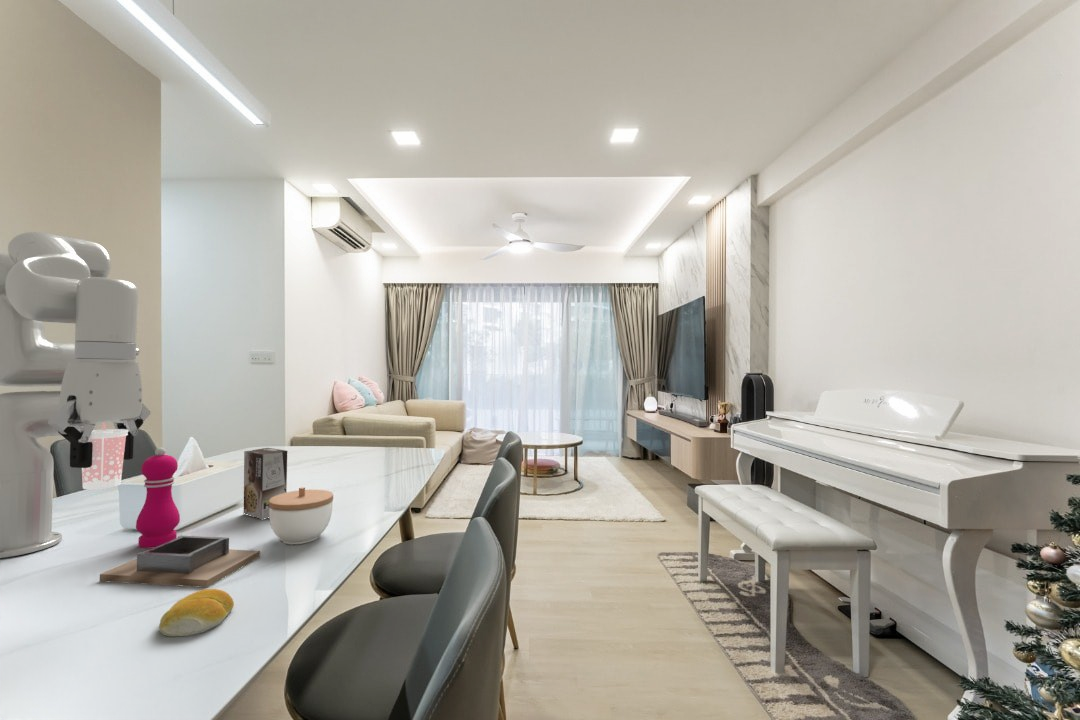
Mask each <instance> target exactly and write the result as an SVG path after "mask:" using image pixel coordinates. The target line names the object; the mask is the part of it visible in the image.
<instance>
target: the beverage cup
mask: <svg viewBox="0 0 1080 720" xmlns="http://www.w3.org/2000/svg"><path fill="white" fill-rule="evenodd" d="M126 435H128V430H127V429H115V428H107V423H101V428H100V429H93V431H92V433H91V435H90V438H89V440H88V442H92V444H93V450H92V466H91V467H89V468H81V476H82V477H81V479H82V480H81V481H82V483H81V484H82V489H83V490H92V491H93V490H102V489H109V488H115V487H118V486H120V485H122V475H123V466H124V450H125V441H126Z"/></svg>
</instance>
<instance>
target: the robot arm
mask: <svg viewBox="0 0 1080 720" xmlns="http://www.w3.org/2000/svg"><path fill="white" fill-rule="evenodd" d="M111 268H112V261H111V256H110V254H109V253H108V250H107V249H105V248H104V247H103V246H102V245H101V244H100V243H97V242H94V241H90V240H86V239H81V238H74V237H71V236H70V237H69V236H65V235H64V236H63V235H58V234H53V233H47V232H42V231H41V232H40V231H39V232H37V231H31V232H30V231H28V232H23V233H20V234H17V235H16V236H14V237H13V238H12V239H11V240H10V241H9V242H8V245H7V253H5V252H0V386H2V387H11V388H12V387H17V388H18V387H19V388H20V387H21V388H23V387H24V388H26V387H27V388H28V387H31V388H34V387H37V388H38V387H39V388H40V387H41V388H42V387H60V390H49V391H48V390H38V391H36V390H34V391H33V390H31V391H30V390H29V391H10V392H4V393H3V392H2V393H0V559H4V558H11V557H16V556H21V555H22V556H23V555H26V554H30V553H35V552H38V551H41V550H45V549H49V548H50V547H54V546H55V545H57V544H59V543H60V542H61V541H62V539H63V538H62V537H63V535H62V533H60V532H58V531H52V529H53V528H52V527H53V501H54V500H53V495H54V493H53V492H54V466H55V465H54V457H53V455H52V453H51V452H50V450H49V449H47V448H46V447H44V446H43V445H42V444H40V443H39V441H38V440H37V439H40V438H46V437H57V436H62V437H63V438H64V439H65V442H66V443H69V467H70V468H72V469H73V468H76V469H78V468H79V469H82V468H89V467H91V466H92V450H93V444H92V442H88V440H89V438H90V435H91V433H92V431H93V430H96V427H97V426H98V425H99V424H102V423H106V424H107V423H109V424H110V423H113V426H114V429H127V430H128V435H126V441H125V450H124V459H123V461H126V460H127V461H128V460H133V459H134V439H135V437H134V436H136V435H138V433H139V429H140V428H141V427H142V426H143V424H144V422H145V421H146V420H147V419H148V417H149V416H150V415H151V410H149V408H147V406H145V404H144V403H143V384H142V378H141V377H142V376H141V371H140V366H139V365H140V364H139V362H137V361H136V360H137V356H138V355H139V354H140V350H139V348H137V334H138V333H137V332H138V331H137V328H138V327H137V325H138V302H139V301H138V300H139V299H138V298H139V296H138V295H139V293H138V288H137V286H136V285H135V284H134V283H132V282H130V281H128V280H123V279H119V278H118V279H117V278H111V277H110V278H109V277H108V276H109V274H110V272H111ZM45 322H46V323H60V324H75V329H74V330H75V331H74V343H71V342H70V343H68V342H51V341H48V340H47V338H46V329H45V328H46V327H45Z"/></svg>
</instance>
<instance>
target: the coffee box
mask: <svg viewBox="0 0 1080 720" xmlns="http://www.w3.org/2000/svg"><path fill="white" fill-rule="evenodd" d="M243 453H244V455H243V456H244V457H243V458H244V459H243V514H244V513H245V514H248V515H251V516H254V517H257V518H260V519H264V518H268V517H269V500H270V498H272V497H274V496H276V495H279V494H282V493H286V492H287V489H288V488H287V485H288V484H287V483H288V481H287V480H288V479H287V478H288V450H286V449H280V448H272V447H264V448H257V449H251V450H245V451H244V452H243ZM251 516H250V517H251ZM254 517H253V518H254ZM257 518H256V519H257ZM260 519H259V520H260ZM268 519H269V518H268ZM264 520H265V519H264Z"/></svg>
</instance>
